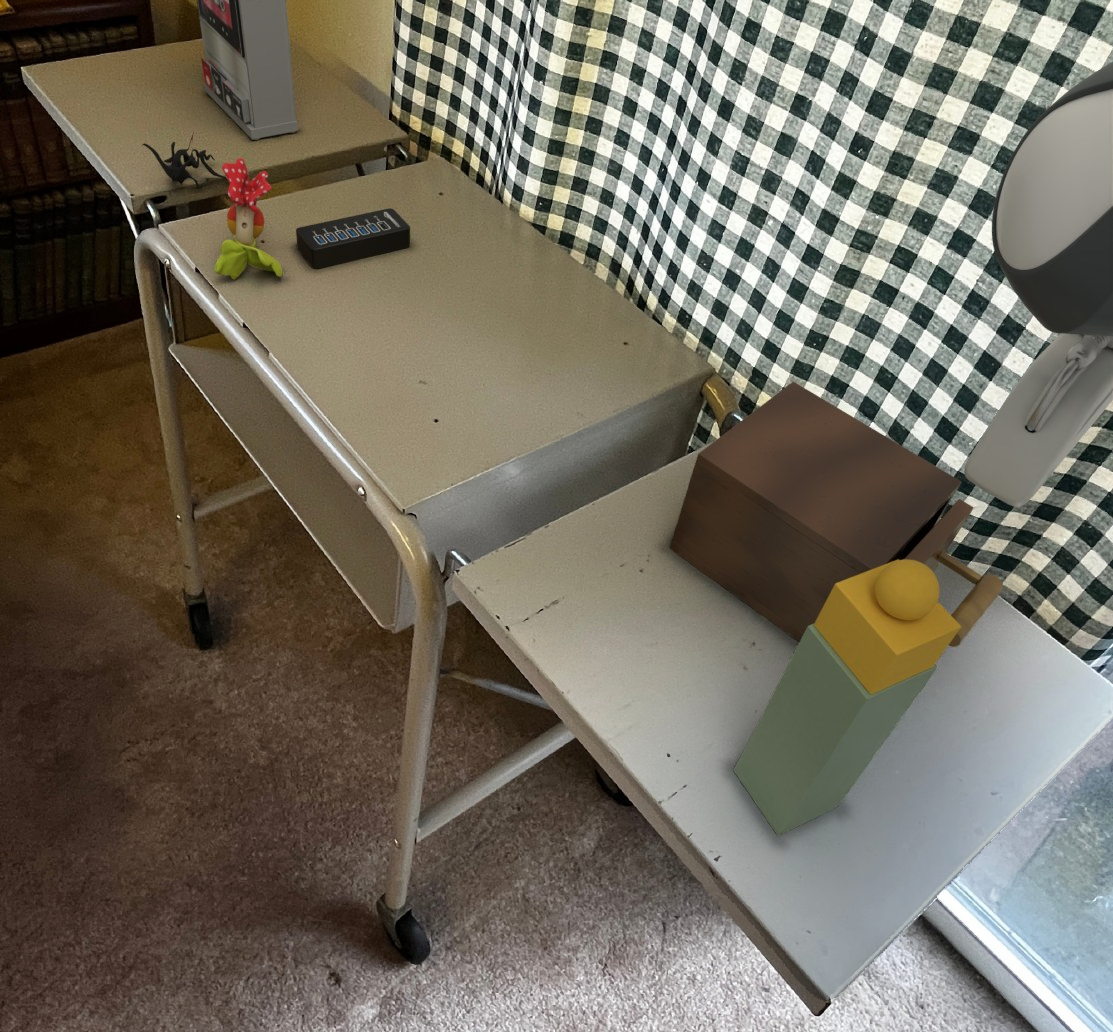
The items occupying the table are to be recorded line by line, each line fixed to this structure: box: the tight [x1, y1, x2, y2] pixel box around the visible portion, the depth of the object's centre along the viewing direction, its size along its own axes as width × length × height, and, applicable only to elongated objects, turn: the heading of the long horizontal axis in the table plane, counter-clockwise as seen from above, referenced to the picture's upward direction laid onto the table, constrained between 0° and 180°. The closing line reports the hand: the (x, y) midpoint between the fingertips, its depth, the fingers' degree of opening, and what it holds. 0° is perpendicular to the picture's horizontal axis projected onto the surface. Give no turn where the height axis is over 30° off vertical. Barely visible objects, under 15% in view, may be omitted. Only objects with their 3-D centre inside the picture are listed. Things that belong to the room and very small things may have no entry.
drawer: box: [891, 498, 1004, 648], centre depth 71 cm, size 18×12×8 cm, turn 48°
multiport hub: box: [295, 208, 411, 270], centre depth 99 cm, size 4×11×2 cm, turn 124°
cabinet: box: [669, 381, 962, 643], centre depth 73 cm, size 15×13×10 cm
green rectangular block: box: [733, 624, 938, 837], centre depth 57 cm, size 5×5×16 cm
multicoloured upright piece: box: [213, 157, 283, 281], centre depth 92 cm, size 6×11×9 cm
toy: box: [814, 559, 961, 695], centre depth 48 cm, size 5×4×6 cm
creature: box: [141, 131, 228, 189], centre depth 103 cm, size 8×5×8 cm
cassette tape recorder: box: [196, 0, 299, 141], centre depth 108 cm, size 14×6×25 cm, turn 37°
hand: (1018, 474), depth 59 cm, fingers closed
